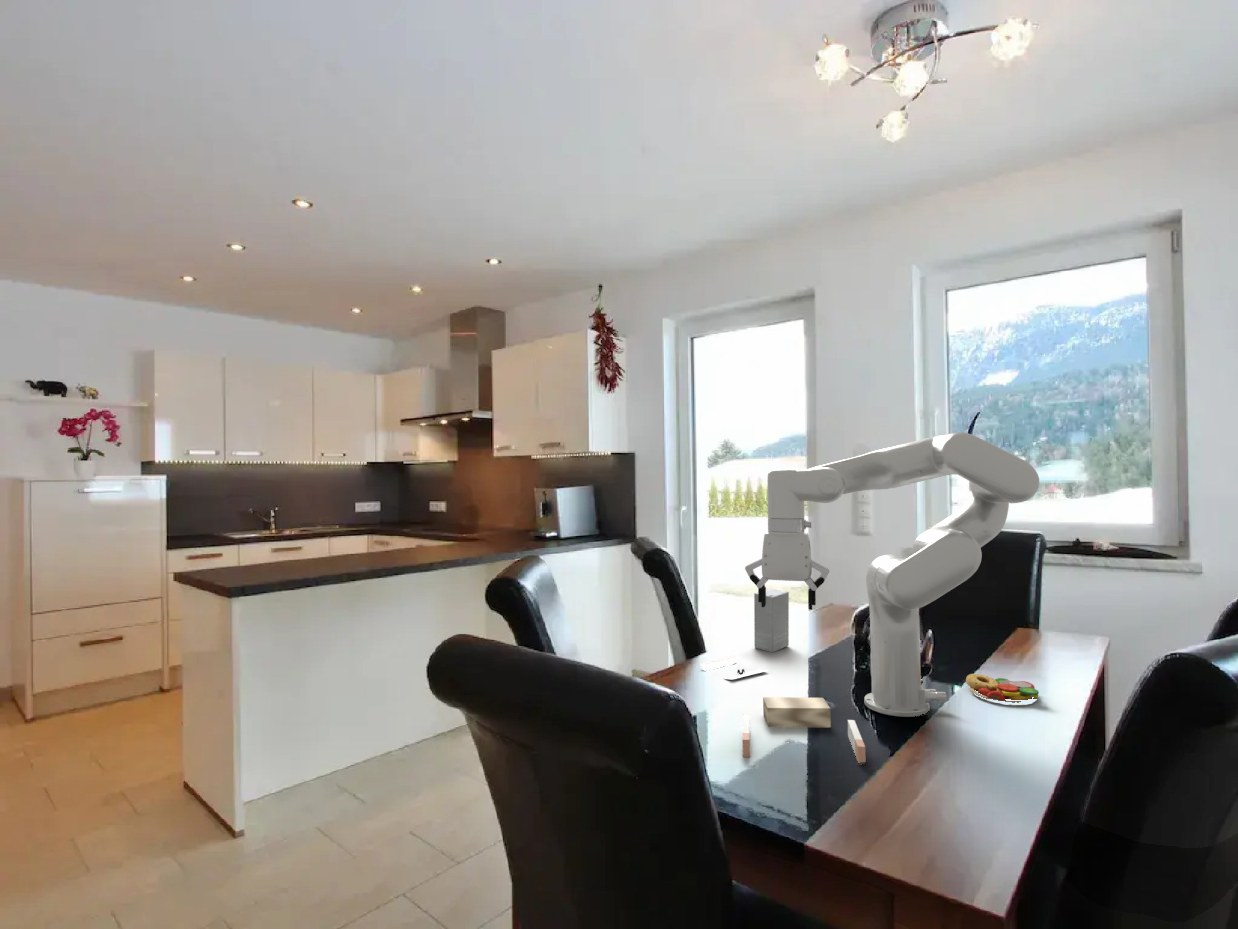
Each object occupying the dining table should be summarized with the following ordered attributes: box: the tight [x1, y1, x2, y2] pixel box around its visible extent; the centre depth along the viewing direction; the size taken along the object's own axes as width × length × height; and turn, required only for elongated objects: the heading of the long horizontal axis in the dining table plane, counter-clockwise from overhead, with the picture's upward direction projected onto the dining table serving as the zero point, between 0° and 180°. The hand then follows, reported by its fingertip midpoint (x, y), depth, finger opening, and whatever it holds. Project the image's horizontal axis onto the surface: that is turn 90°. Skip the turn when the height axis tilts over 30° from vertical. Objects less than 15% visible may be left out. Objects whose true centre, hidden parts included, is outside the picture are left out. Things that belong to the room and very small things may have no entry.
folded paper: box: [699, 655, 768, 680], centre depth 164 cm, size 12×12×2 cm
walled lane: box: [742, 713, 867, 764], centre depth 119 cm, size 20×12×3 cm, turn 79°
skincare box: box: [753, 588, 790, 653], centre depth 184 cm, size 8×7×16 cm
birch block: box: [762, 696, 832, 728], centre depth 131 cm, size 12×6×4 cm, turn 86°
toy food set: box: [965, 673, 1040, 703], centre depth 142 cm, size 13×13×3 cm
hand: (786, 607), depth 139 cm, fingers open, 9 cm apart
